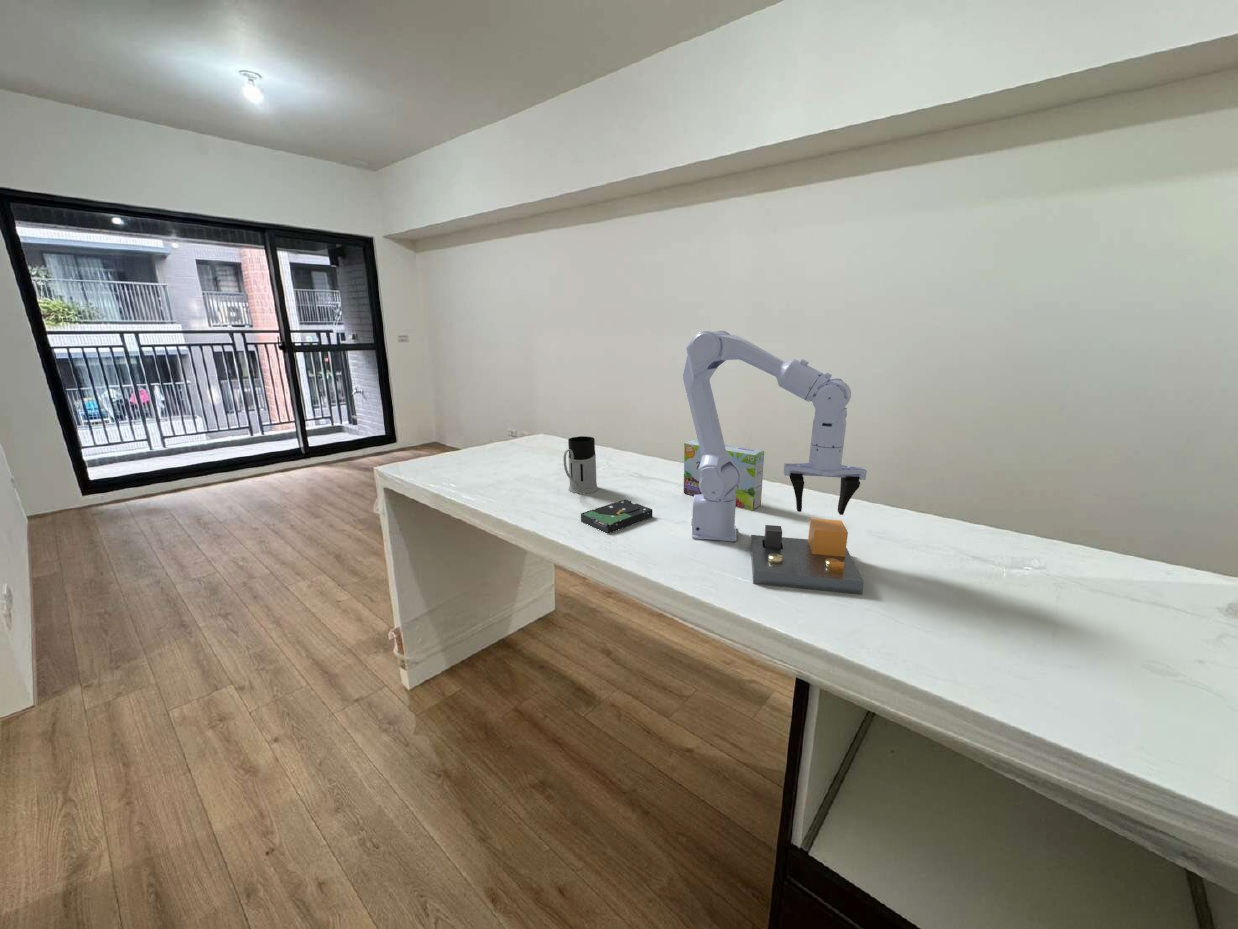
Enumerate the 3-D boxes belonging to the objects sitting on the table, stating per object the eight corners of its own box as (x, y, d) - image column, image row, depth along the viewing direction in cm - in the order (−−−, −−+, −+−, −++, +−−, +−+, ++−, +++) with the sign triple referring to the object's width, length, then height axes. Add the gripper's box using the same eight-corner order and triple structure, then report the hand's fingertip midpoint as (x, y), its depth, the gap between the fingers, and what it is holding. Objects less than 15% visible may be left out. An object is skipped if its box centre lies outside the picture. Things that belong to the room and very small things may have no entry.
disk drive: (624, 508, 124) (580, 523, 114) (624, 498, 123) (579, 512, 114) (653, 519, 116) (607, 536, 107) (653, 508, 116) (607, 524, 106)
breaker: (764, 549, 94) (766, 530, 92) (764, 543, 96) (765, 524, 95) (780, 550, 93) (782, 531, 92) (779, 544, 96) (780, 525, 95)
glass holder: (603, 486, 140) (601, 437, 136) (580, 501, 128) (578, 447, 124) (577, 483, 144) (575, 435, 140) (552, 497, 131) (549, 445, 127)
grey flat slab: (753, 583, 85) (754, 560, 84) (750, 545, 100) (751, 526, 99) (861, 594, 81) (865, 570, 80) (842, 553, 96) (844, 532, 95)
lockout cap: (812, 553, 90) (814, 529, 89) (807, 541, 96) (810, 518, 94) (844, 556, 89) (848, 532, 88) (838, 543, 94) (841, 520, 93)
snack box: (682, 494, 132) (683, 442, 128) (692, 489, 136) (694, 438, 132) (752, 511, 119) (756, 453, 115) (762, 505, 123) (766, 449, 119)
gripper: (788, 447, 87) (782, 515, 91) (874, 451, 84) (864, 522, 88) (785, 439, 94) (779, 503, 98) (864, 442, 90) (855, 508, 94)
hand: (819, 511), depth 93 cm, fingers open, 7 cm apart
